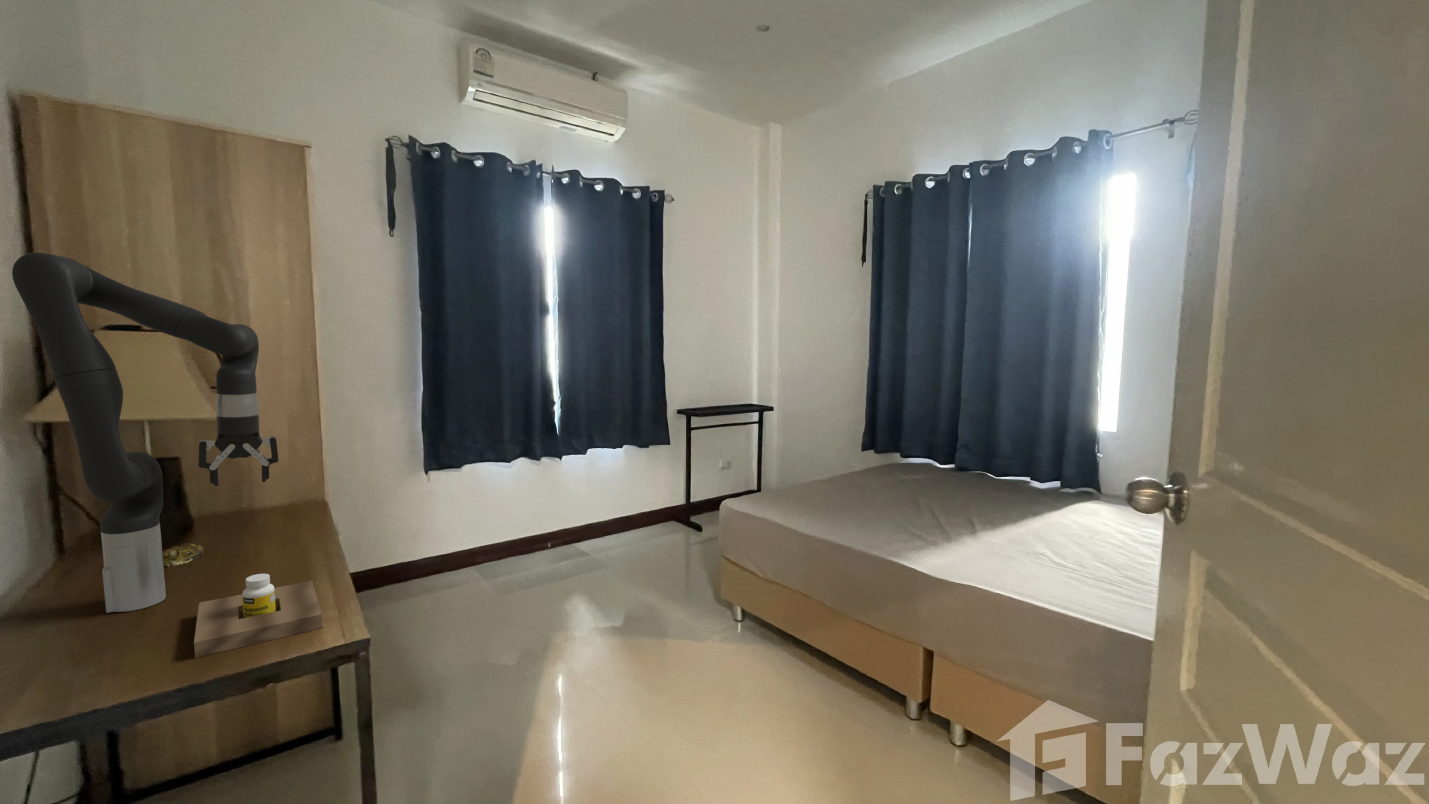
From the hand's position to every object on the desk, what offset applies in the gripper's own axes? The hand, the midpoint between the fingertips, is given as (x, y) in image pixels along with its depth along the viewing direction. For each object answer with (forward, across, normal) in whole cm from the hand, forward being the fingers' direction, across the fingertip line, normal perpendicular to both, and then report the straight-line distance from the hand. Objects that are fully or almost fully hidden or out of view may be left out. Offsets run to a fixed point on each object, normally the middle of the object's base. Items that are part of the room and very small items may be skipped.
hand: (240, 483), depth 139 cm
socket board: (+25, +3, -21) cm, 33 cm away
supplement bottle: (+25, +3, -21) cm, 33 cm away
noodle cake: (+26, -14, +33) cm, 44 cm away
